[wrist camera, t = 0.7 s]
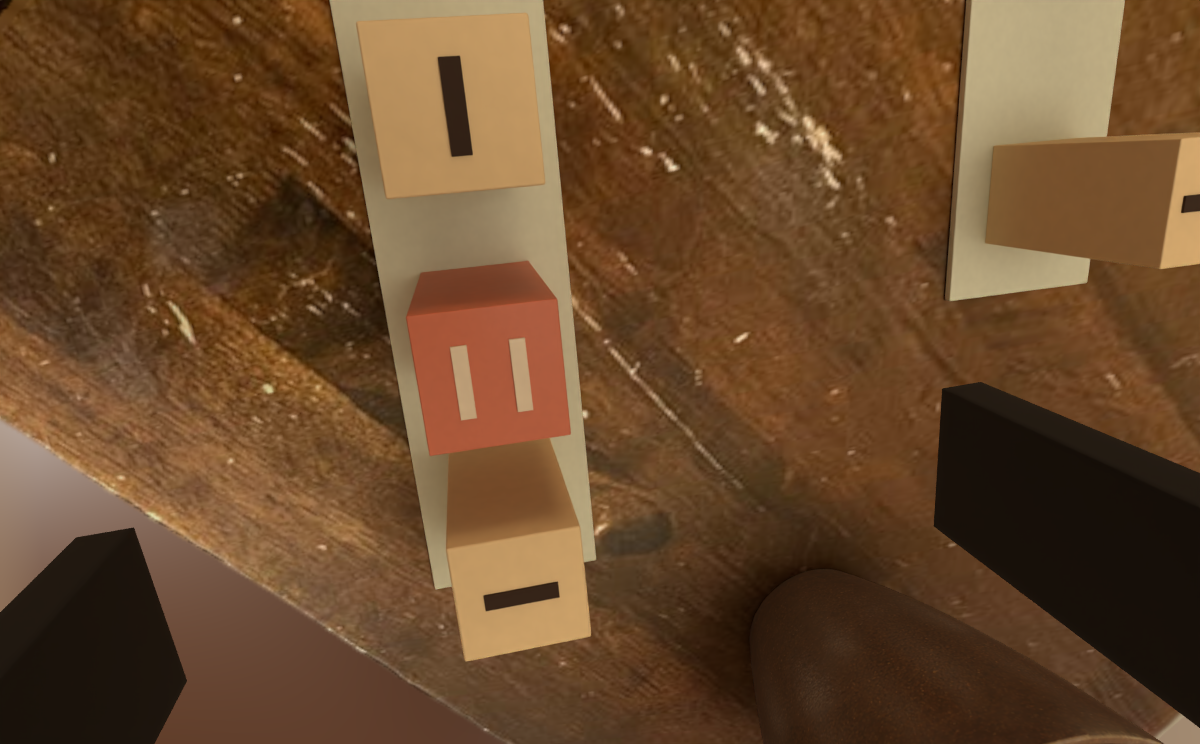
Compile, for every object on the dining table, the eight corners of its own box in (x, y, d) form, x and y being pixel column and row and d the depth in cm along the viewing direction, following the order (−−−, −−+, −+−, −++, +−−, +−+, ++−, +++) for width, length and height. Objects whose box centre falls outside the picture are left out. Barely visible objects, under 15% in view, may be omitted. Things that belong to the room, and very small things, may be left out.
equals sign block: (420, 272, 29) (404, 317, 20) (529, 260, 30) (557, 298, 21) (437, 375, 30) (429, 457, 22) (540, 362, 31) (571, 436, 23)
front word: (329, -7, 26) (262, -98, 17) (540, -16, 27) (581, -105, 18) (435, 585, 34) (427, 736, 25) (594, 556, 35) (642, 689, 26)
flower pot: (973, 542, 40) (1287, 771, 25) (860, 749, 43) (1081, 1067, 28) (752, 476, 36) (970, 702, 21) (645, 711, 38) (767, 1060, 23)
